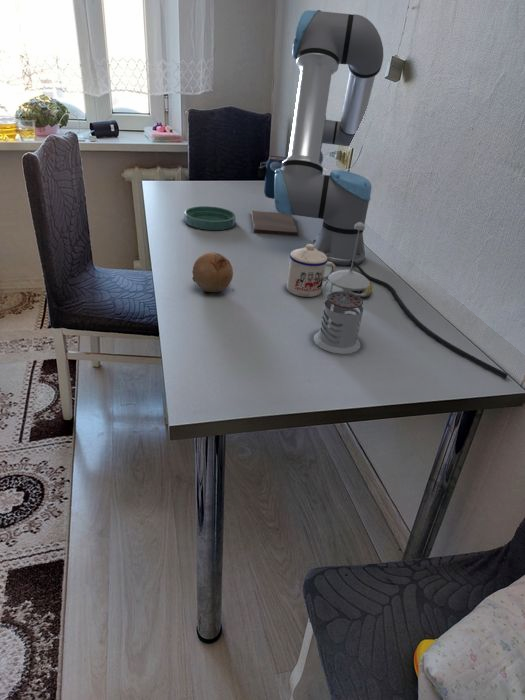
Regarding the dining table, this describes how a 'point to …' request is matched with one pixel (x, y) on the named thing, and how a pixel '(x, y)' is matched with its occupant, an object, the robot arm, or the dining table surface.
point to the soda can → (272, 174)
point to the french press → (342, 310)
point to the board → (273, 223)
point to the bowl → (209, 218)
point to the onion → (212, 272)
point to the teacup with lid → (307, 271)
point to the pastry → (362, 291)
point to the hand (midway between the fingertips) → (269, 174)
